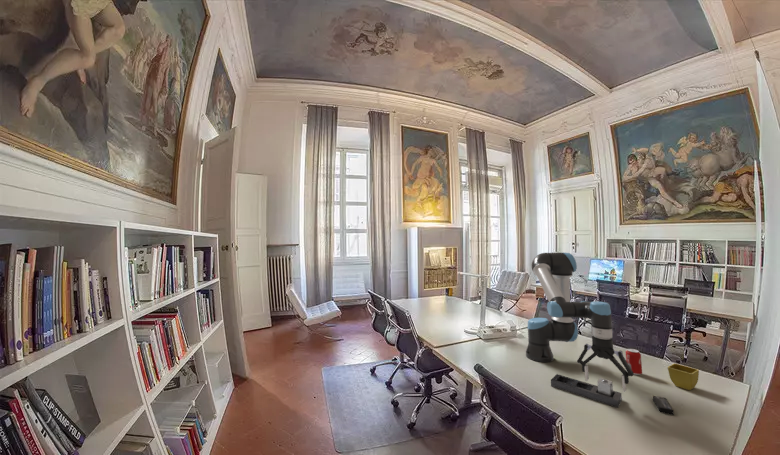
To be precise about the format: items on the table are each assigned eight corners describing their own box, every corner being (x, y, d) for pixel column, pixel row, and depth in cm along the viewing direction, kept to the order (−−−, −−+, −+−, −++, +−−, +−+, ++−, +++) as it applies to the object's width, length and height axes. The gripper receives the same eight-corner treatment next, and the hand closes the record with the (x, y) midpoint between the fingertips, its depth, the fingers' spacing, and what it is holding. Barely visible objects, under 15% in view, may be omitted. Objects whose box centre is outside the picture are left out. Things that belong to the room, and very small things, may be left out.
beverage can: (645, 376, 147) (643, 352, 148) (631, 375, 148) (629, 352, 149) (637, 371, 153) (635, 348, 154) (624, 370, 154) (622, 347, 155)
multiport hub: (659, 413, 116) (659, 407, 116) (652, 400, 125) (652, 395, 125) (674, 416, 113) (673, 410, 113) (666, 403, 123) (665, 397, 123)
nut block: (598, 399, 126) (597, 380, 126) (601, 395, 129) (600, 377, 129) (610, 403, 122) (609, 384, 123) (613, 399, 125) (612, 380, 126)
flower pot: (693, 393, 129) (692, 373, 130) (668, 385, 137) (667, 366, 138) (700, 389, 133) (699, 369, 134) (675, 381, 141) (674, 363, 142)
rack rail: (551, 386, 138) (550, 379, 138) (557, 380, 144) (556, 374, 144) (618, 408, 119) (617, 400, 119) (621, 399, 125) (621, 392, 125)
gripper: (568, 332, 134) (570, 378, 133) (637, 345, 116) (640, 399, 114) (572, 329, 139) (575, 373, 138) (639, 341, 121) (643, 392, 119)
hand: (605, 385), depth 126 cm, fingers open, 13 cm apart
